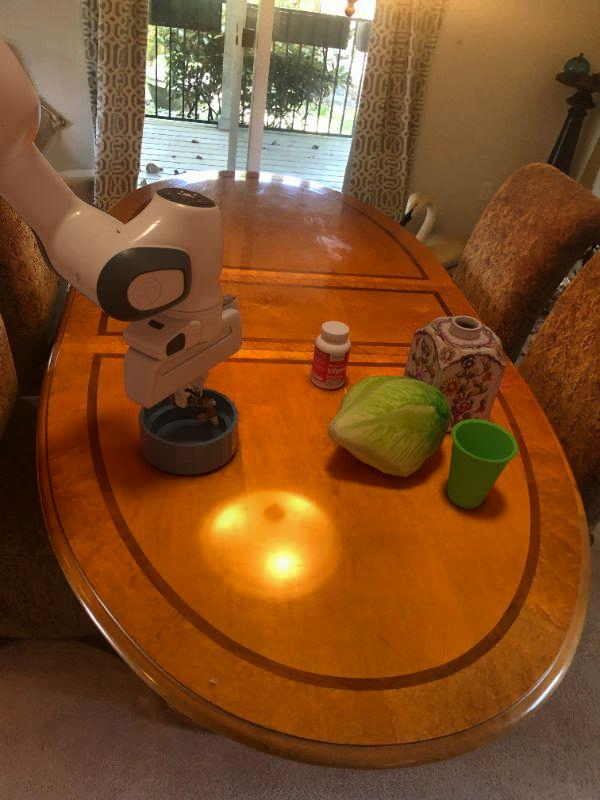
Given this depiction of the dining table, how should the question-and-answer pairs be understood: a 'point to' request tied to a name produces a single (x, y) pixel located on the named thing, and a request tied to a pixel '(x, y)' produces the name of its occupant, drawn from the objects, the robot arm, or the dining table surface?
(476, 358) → the decorative jar
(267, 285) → the dining table surface
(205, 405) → the brown buckled strap
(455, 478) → the cup
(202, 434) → the basin
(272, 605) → the dining table surface
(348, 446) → the lettuce
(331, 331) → the pill bottle
